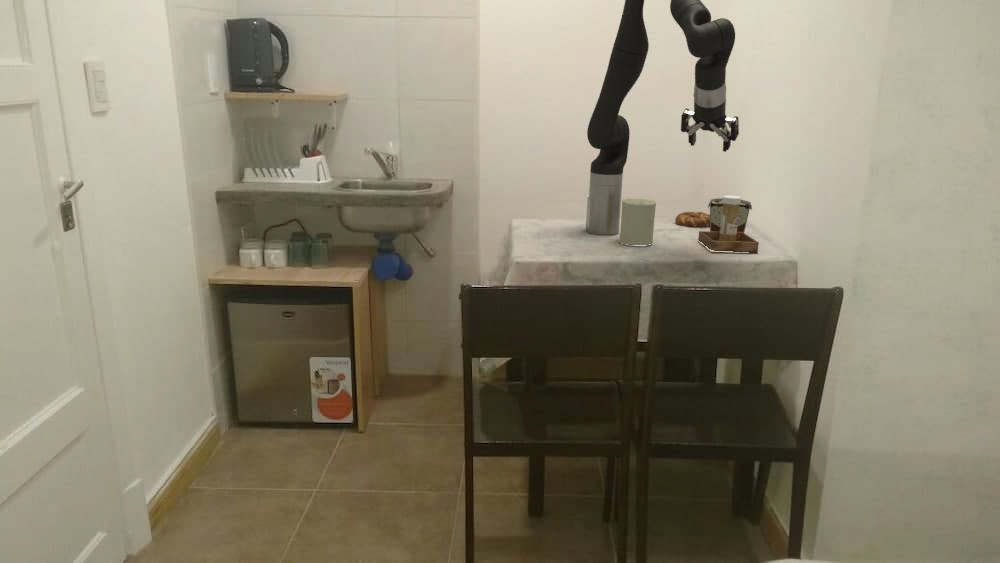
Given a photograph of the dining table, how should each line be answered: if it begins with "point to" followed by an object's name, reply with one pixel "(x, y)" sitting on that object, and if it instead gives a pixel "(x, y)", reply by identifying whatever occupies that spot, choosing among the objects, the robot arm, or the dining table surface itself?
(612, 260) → the dining table surface
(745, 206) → the food container
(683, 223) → the pretzel
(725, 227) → the sprinkles bottle
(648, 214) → the can
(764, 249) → the dining table surface
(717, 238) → the box
